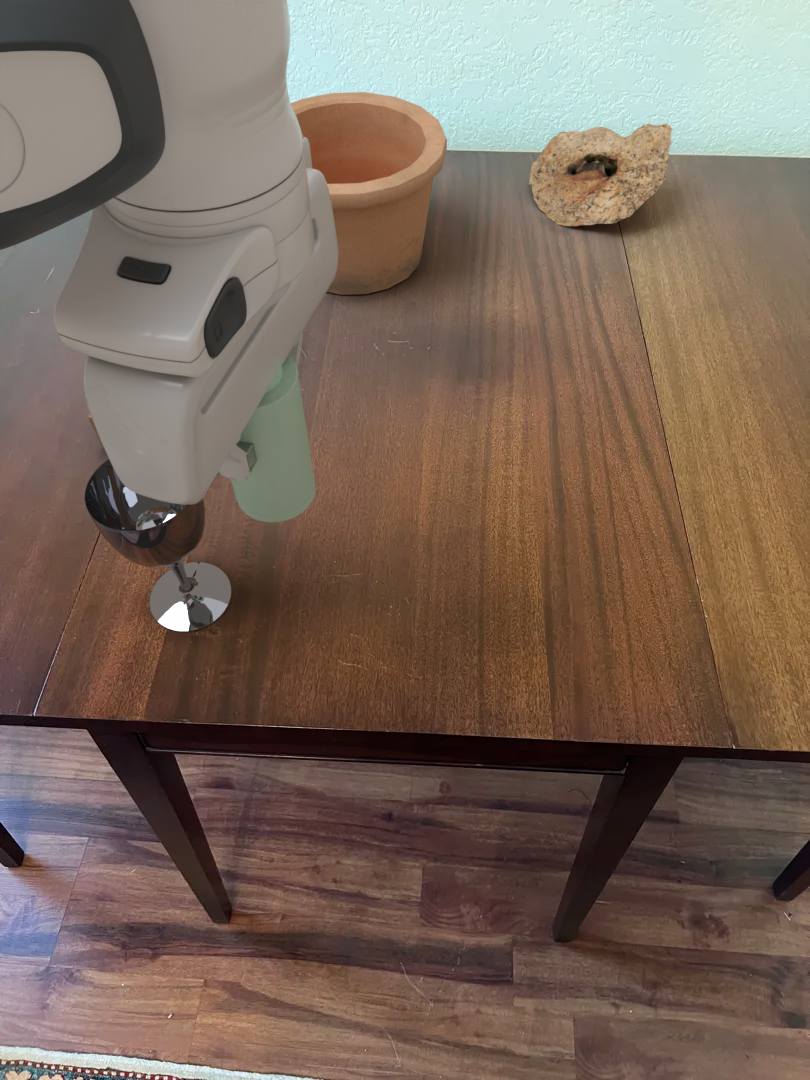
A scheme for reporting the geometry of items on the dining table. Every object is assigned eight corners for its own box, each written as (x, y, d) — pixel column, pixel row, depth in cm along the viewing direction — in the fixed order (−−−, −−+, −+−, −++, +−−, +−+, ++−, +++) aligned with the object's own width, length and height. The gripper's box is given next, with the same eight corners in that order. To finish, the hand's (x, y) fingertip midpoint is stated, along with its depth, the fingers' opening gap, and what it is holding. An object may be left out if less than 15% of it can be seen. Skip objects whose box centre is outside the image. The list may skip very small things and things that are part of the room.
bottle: (222, 511, 50) (162, 325, 38) (255, 454, 53) (209, 264, 41) (297, 531, 49) (260, 346, 37) (327, 471, 52) (301, 281, 40)
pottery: (246, 302, 92) (221, 186, 80) (291, 198, 104) (275, 85, 93) (429, 318, 89) (430, 202, 78) (452, 210, 102) (456, 96, 90)
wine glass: (190, 544, 71) (142, 430, 59) (255, 586, 69) (219, 475, 56) (125, 605, 68) (60, 497, 55) (191, 652, 65) (138, 549, 53)
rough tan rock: (533, 262, 106) (515, 220, 100) (549, 182, 111) (534, 137, 105) (671, 241, 97) (661, 194, 91) (682, 155, 102) (673, 105, 96)
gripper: (245, 101, 42) (281, 314, 53) (25, 344, 30) (130, 550, 41) (357, 118, 40) (369, 332, 52) (171, 378, 29) (238, 579, 40)
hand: (261, 431), depth 46 cm, fingers closed on bottle, 5 cm apart
